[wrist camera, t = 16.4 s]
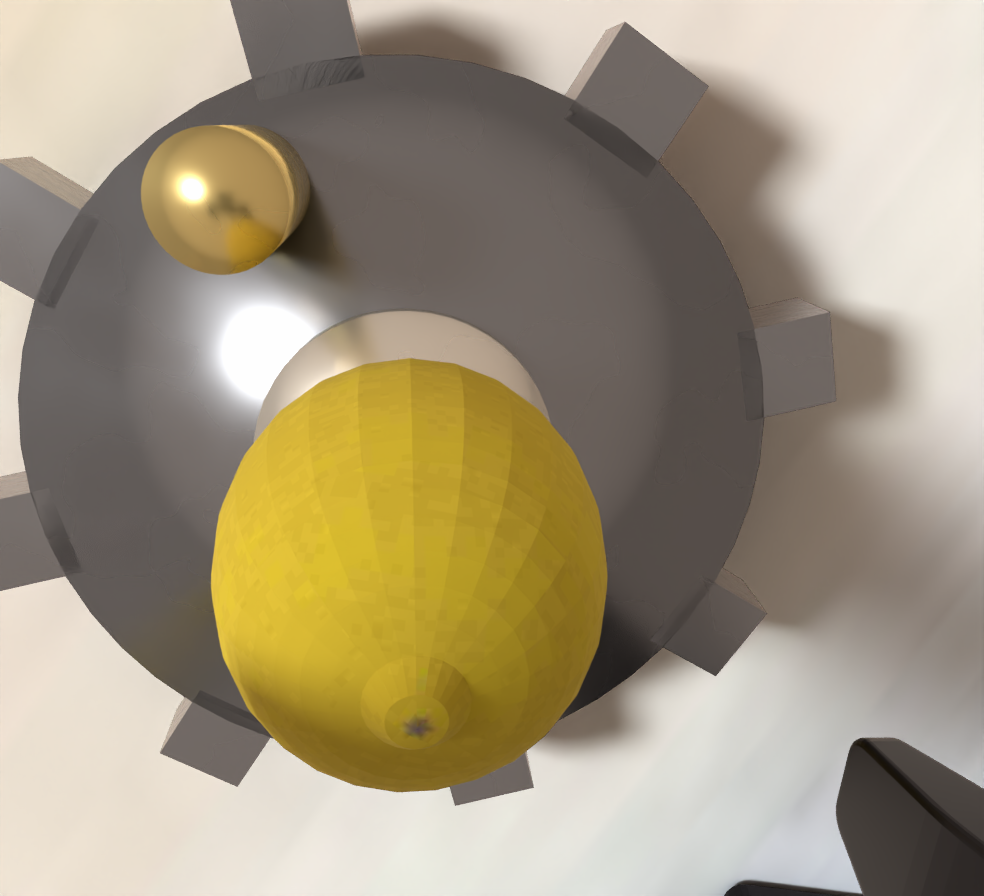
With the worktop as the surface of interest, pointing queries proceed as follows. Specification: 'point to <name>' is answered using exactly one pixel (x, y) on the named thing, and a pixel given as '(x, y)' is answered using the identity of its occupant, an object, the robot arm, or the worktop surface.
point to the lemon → (409, 576)
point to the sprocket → (388, 333)
